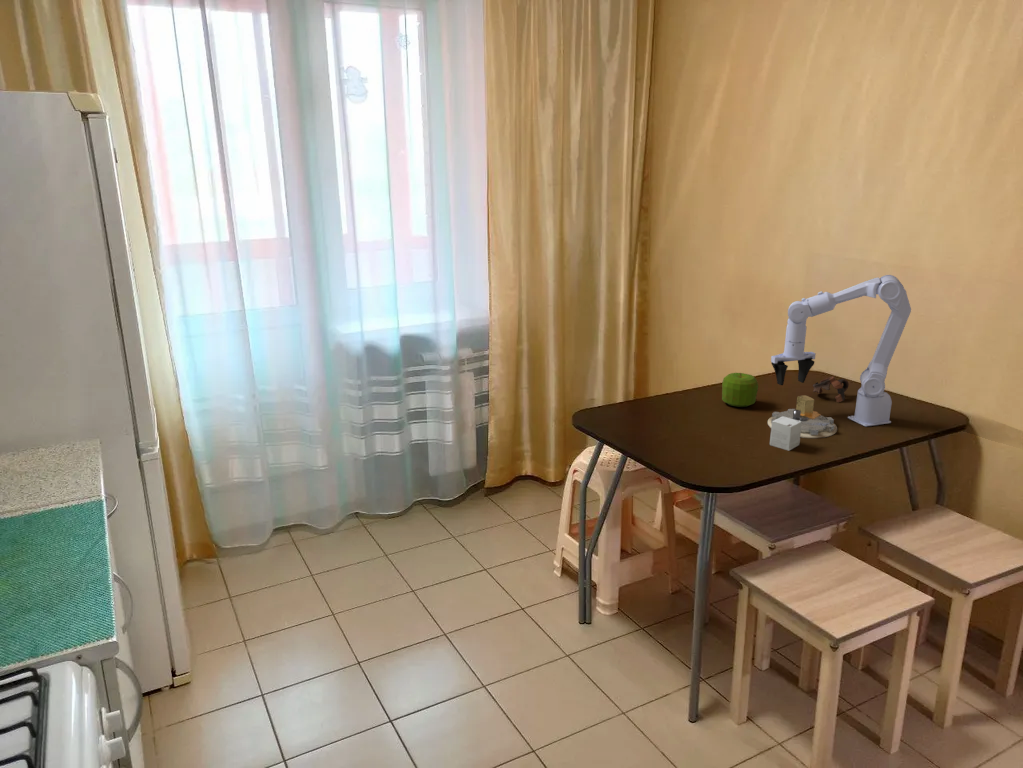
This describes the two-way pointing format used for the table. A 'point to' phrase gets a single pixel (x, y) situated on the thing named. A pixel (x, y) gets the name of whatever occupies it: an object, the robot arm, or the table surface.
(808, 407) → the wooden block
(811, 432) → the sprocket
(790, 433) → the skincare box
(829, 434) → the base plate
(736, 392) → the apple
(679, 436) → the table surface
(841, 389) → the brown irregular piece
